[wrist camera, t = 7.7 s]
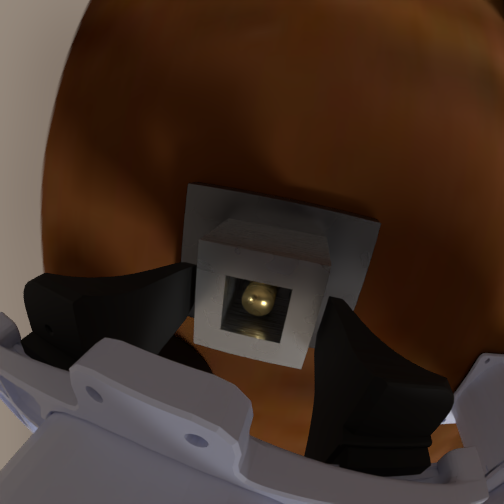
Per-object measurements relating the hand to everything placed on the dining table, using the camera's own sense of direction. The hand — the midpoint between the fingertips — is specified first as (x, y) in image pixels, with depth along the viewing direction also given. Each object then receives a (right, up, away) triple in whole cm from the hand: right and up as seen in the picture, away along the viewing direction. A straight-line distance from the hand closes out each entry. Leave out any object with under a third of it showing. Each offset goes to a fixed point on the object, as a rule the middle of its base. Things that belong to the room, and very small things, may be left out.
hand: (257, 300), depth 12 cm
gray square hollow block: (+1, +1, +3) cm, 3 cm away
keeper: (+1, +1, +4) cm, 4 cm away
